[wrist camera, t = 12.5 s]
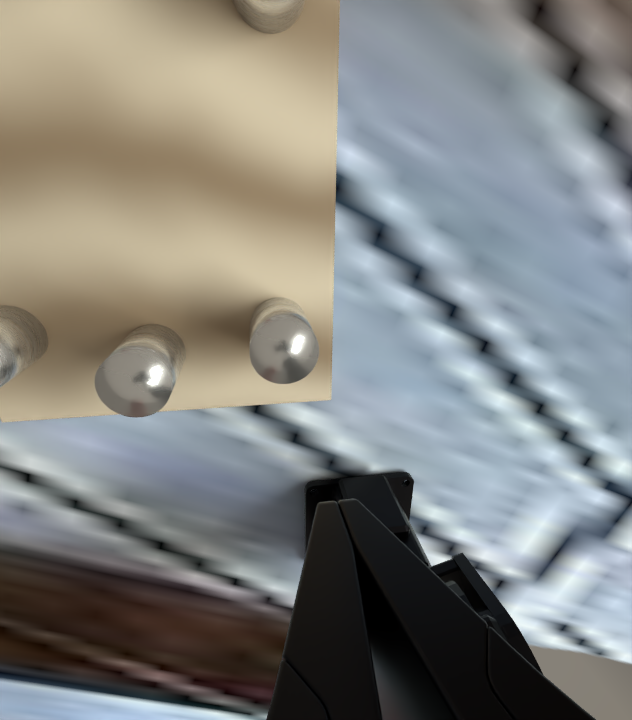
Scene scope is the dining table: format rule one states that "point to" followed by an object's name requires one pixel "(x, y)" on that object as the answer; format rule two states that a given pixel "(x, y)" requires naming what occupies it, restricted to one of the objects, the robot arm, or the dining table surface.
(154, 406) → the steel spacers
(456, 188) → the dining table surface
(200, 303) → the board
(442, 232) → the dining table surface
